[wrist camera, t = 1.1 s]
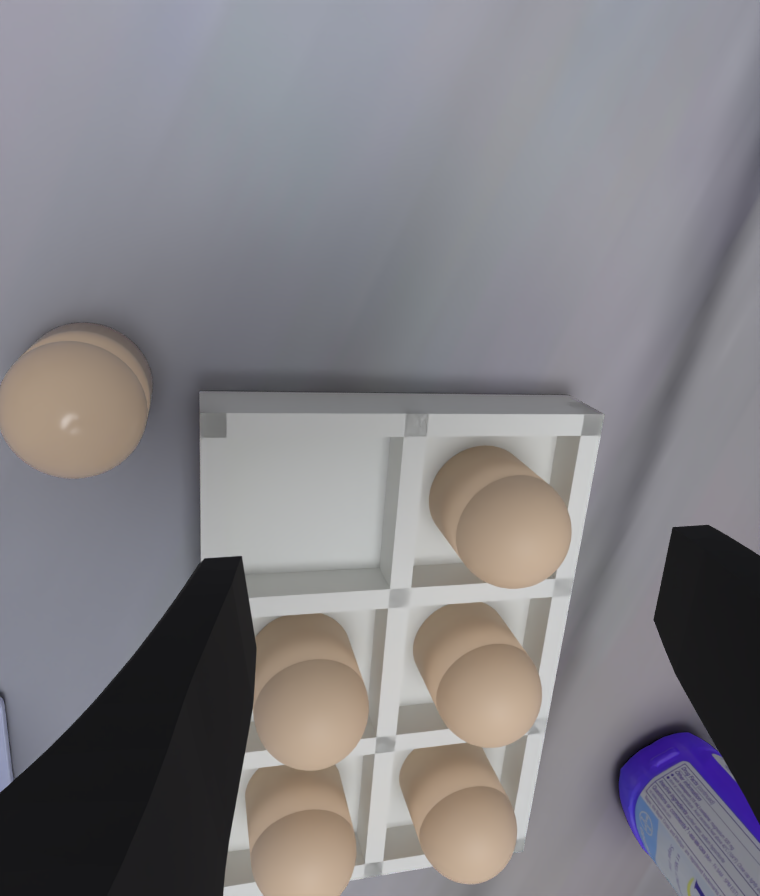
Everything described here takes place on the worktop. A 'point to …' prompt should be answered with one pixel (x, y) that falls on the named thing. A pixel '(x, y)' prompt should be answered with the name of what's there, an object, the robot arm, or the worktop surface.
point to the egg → (76, 401)
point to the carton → (394, 621)
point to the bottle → (692, 817)
